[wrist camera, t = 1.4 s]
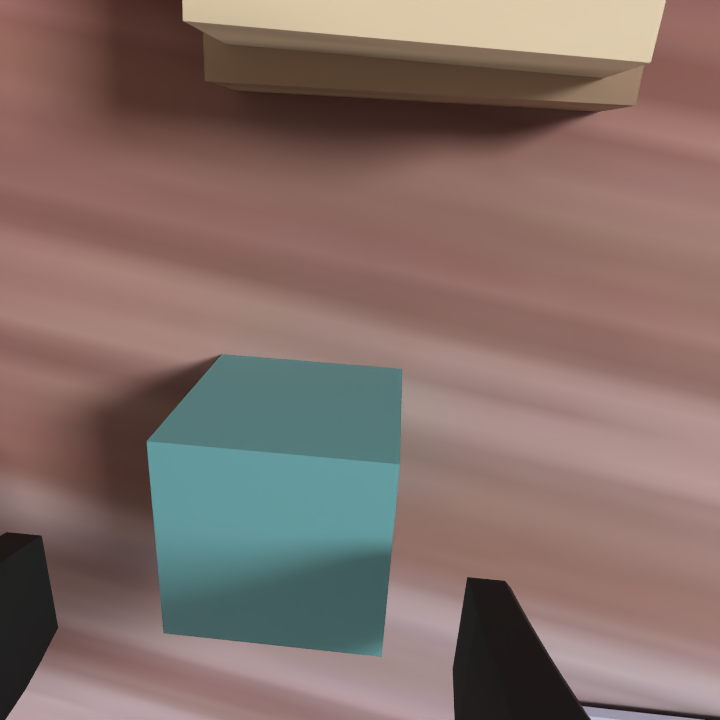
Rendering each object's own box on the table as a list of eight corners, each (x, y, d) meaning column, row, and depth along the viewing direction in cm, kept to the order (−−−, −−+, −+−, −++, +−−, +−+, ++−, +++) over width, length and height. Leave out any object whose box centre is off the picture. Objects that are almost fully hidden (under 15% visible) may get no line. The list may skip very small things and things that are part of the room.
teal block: (388, 519, 16) (381, 656, 12) (227, 503, 16) (164, 633, 12) (402, 368, 14) (399, 464, 10) (222, 353, 14) (146, 441, 10)
